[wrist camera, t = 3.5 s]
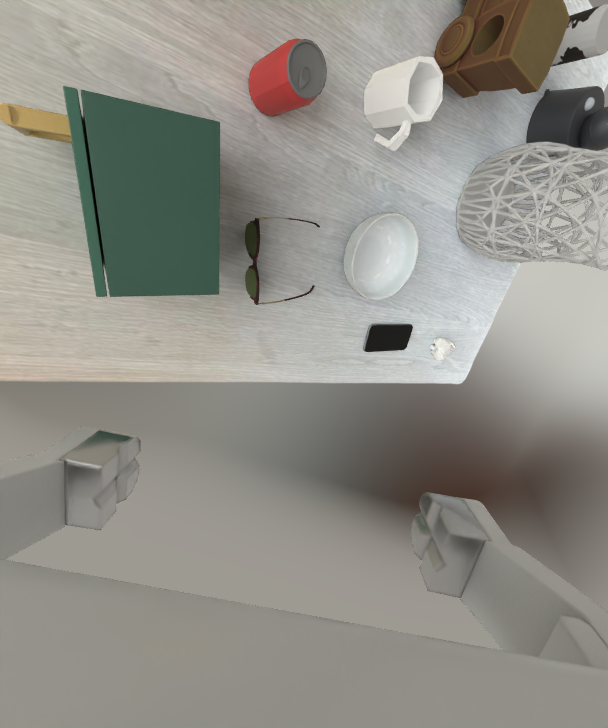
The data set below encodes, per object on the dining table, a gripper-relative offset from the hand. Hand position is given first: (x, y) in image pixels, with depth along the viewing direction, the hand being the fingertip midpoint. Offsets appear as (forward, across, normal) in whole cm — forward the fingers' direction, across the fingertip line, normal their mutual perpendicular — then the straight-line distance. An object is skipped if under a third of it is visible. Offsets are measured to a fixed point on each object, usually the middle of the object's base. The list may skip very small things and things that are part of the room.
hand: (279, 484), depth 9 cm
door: (+38, +34, -9) cm, 52 cm away
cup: (+78, -33, -56) cm, 101 cm away
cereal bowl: (+67, -9, -11) cm, 69 cm away
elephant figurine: (+89, -38, +9) cm, 97 cm away
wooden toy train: (+68, -18, -52) cm, 87 cm away
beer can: (+51, +12, -30) cm, 60 cm away
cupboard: (+44, +26, -10) cm, 52 cm away
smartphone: (+77, -21, +7) cm, 81 cm away
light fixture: (+88, -48, -50) cm, 112 cm away
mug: (+62, -5, -34) cm, 71 cm away
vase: (+84, -38, -29) cm, 96 cm away
